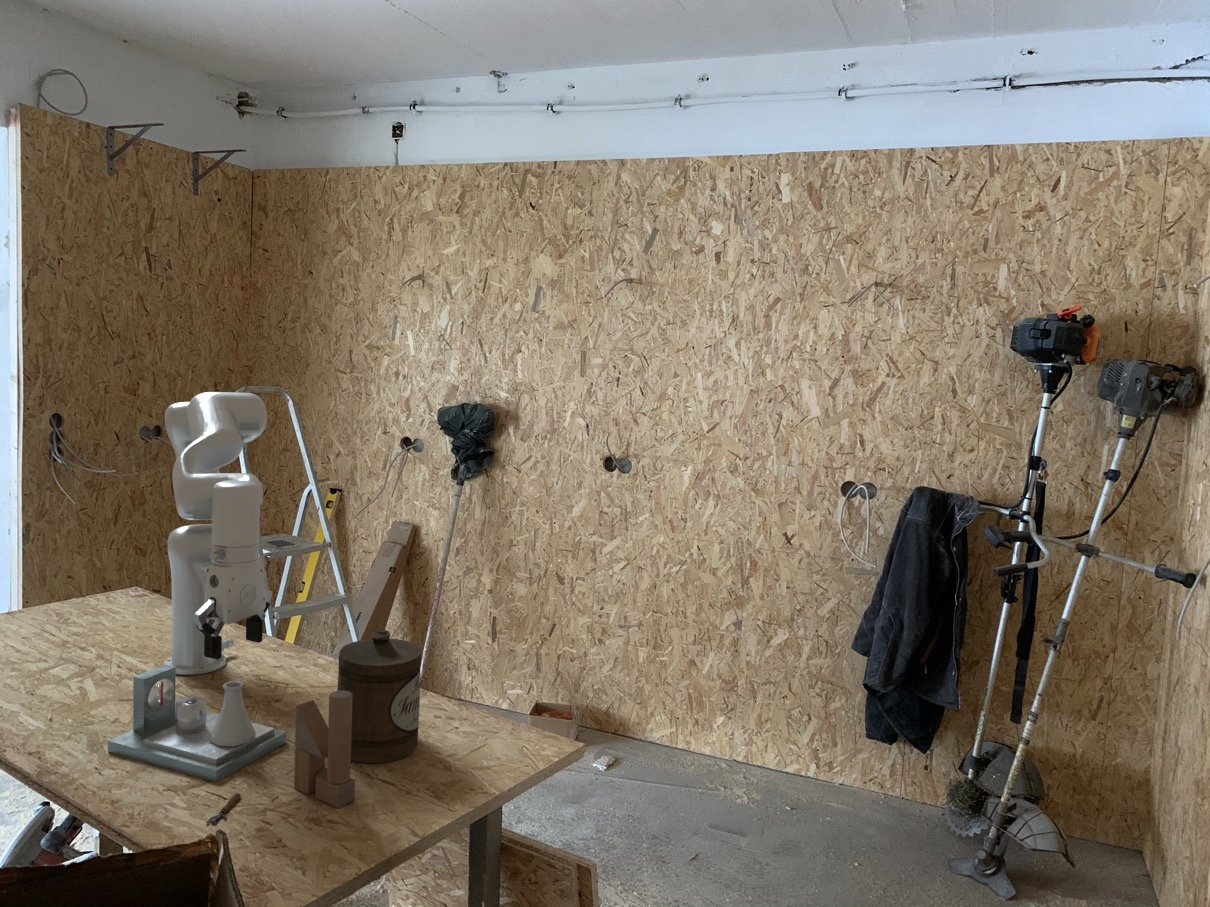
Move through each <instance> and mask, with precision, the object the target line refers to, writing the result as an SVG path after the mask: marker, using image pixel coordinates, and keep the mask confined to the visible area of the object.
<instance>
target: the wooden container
mask: <svg viewBox="0 0 1210 907" xmlns="http://www.w3.org/2000/svg"><path fill="white" fill-rule="evenodd" d="M370 636H371V637H370V638H367V639H366V638H365V639H361V640H356V641H353V642H350V643H347V644H345V645H344V646H343V647H341V648H340V650H339V654H338V672H337V673H338V674H337V676H338V677H337V688H336V689H337V690H336V691H340V690H344V691H350V692H351V693H352V695H353V701H352V734H351V762H353V763H354V762H355V763H358V764H359V763H361V764H362V763H363V764H385V763H389V762H395V761H398V760H401V759H403V758H406V757H407V755H408V754H409V755H411V754H412V753H413V752H414V751H415V750H416V749H417V747H418V743H419V742H418V740H419V723H420V701H421V699H420V697H421V696H420V695H421V692H420V691H421V669H422V668H421V666H422V649H421V647H420V646H419V645H417V644H416V643H414V642H411V641H408V640H404V639H398V638H391V633H390V631H388V630H387V629H384V628H378V629H377V630H374V631H373V632H372V633H371V635H370ZM416 746H417V747H416ZM415 748H416V749H415ZM414 749H415V750H414ZM413 750H414V751H413ZM412 751H413V752H412ZM411 752H412V753H411ZM410 753H411V754H410ZM409 755H408V756H409ZM405 756H406V757H405ZM384 762H385V763H384Z"/></svg>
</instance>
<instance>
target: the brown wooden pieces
mask: <svg viewBox="0 0 1210 907" xmlns="http://www.w3.org/2000/svg"><path fill="white" fill-rule="evenodd" d="M328 697H329V698H328V724H327V722H326V720H325V719H324V717H323V715H322V713H321V711H320V709H319V707H318V705H317V703H316V702H315V700H314V699H312V700H310V701H307V702H304V703H300V704H298V705H296V706H295V733H294V734H295V736H294V740H295V741H294V746H295V749H294V777H293V778H294V782H293V783H294V785H293V787H294V789H295V790H297V791H299V792H302V793H304V794H305V795H309V794H312V793H315V799H317V800H319V801H321V802H323V803H326V804H328V805H330V806H332V807H334V808H337V809H339V808H342V807H344V806H346V805H348V804H349V803H352V802H353V801H355V794H356V780H355V779H353V778H351V762H352V761H351V734H352V701H353V695H352V693H351V692H350V691H344V690H340V691H337V690H335V691H333V692H331V693H330V694H329V696H328ZM326 759H327V765H326Z"/></svg>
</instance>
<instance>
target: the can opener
mask: <svg viewBox="0 0 1210 907" xmlns="http://www.w3.org/2000/svg"><path fill="white" fill-rule="evenodd" d="M241 797H242V795H241V794H240V793H235V794H234V795H232V797H231V798H230V799H229V800H228V801H227V802H226V803H225V805H224V806H223V807H222V808H221V809H220V811H219V813H218V814H216V815H214V816H213V815H212V816H211V817H210V818H209V819H208V820H206V824H205V825H206V827H208V826H210V825H209V824H211V825H212V826H215V825H216V823H218V822H219V820H220V819H225V818H227V814H228V812H229V811H230V810H231V809H232V808H233V807H235V805H236V804H237V803H238V802H239V800H240V799H241Z"/></svg>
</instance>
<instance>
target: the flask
mask: <svg viewBox="0 0 1210 907" xmlns="http://www.w3.org/2000/svg"><path fill="white" fill-rule="evenodd" d="M244 686H245V685H244V682H242V681H241V680H231V681H228V682H225V683H224V684H223V685H222V688H223V690H224V697H223V703H222V706H221V708H220V712H219V713H218V714H219V717H218V719H217V722H216V724H215V727H214V729H213V731H212V734H211V736H210V739H209V741H210V742H212V743H214V744H216V745H217V746H232V747H235V746H238V745H241V744H244V743H247V742H250V740H251V739H252V738H253V737H254V736H255V735H256V733H255V731H254V728H253V726H252V724H251V723H252V721H251V719H250V716H249V714H248V712H247V708H246V706H245V704H244V698H243V687H244Z"/></svg>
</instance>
